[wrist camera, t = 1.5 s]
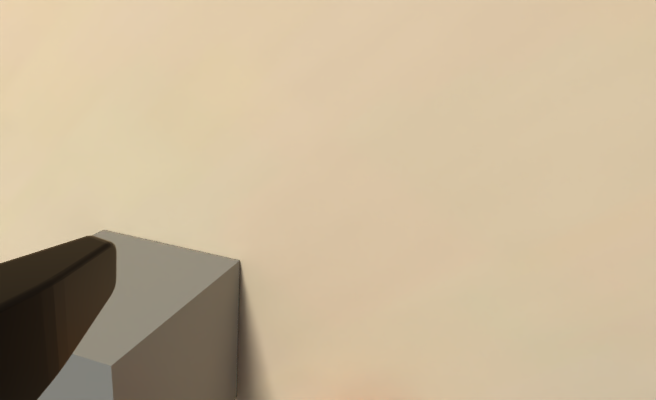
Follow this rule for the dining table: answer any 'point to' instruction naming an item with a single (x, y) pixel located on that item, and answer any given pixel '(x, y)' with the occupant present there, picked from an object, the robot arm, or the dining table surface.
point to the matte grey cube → (159, 329)
